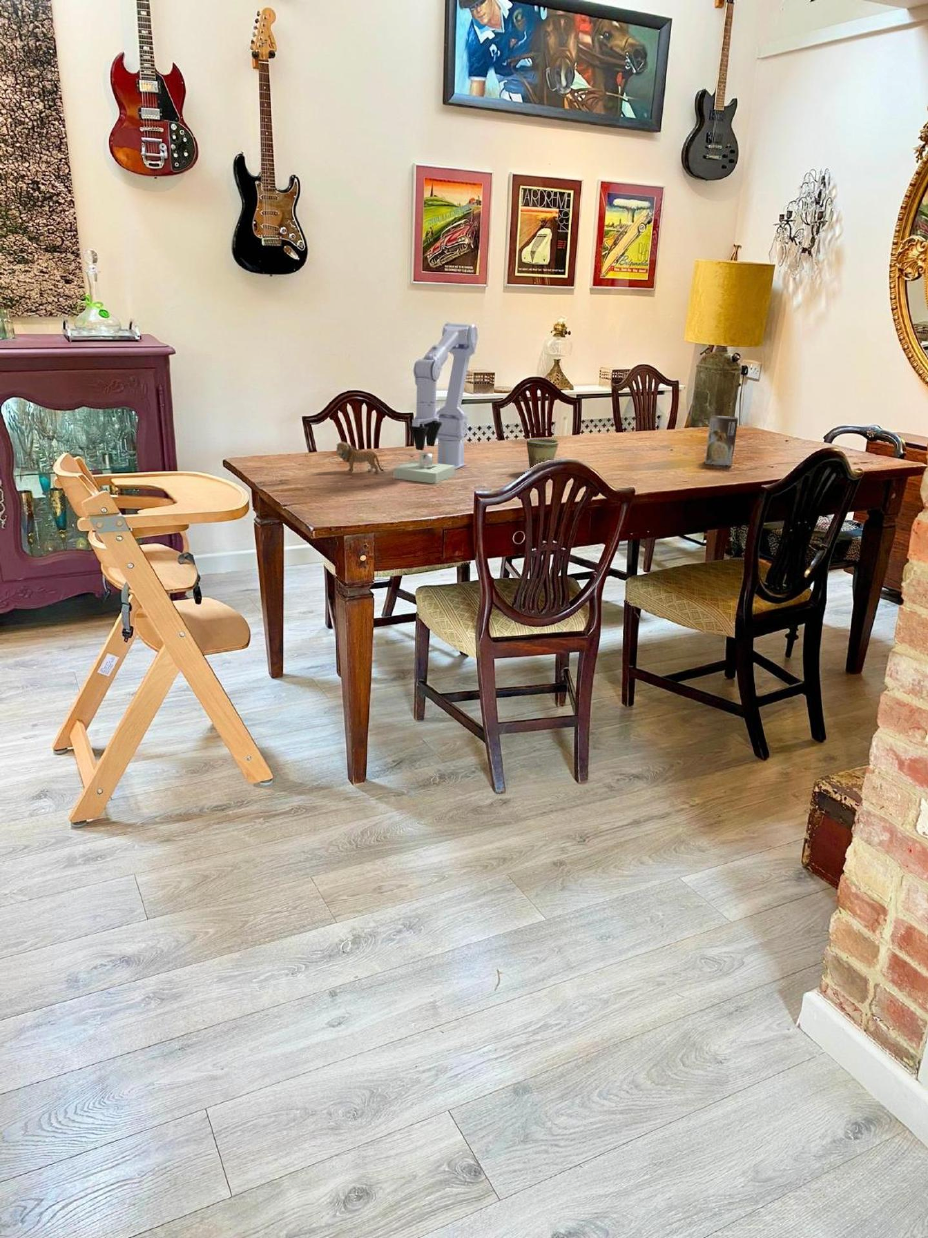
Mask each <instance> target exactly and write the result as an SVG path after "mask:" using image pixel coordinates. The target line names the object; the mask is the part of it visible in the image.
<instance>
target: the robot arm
mask: <svg viewBox="0 0 928 1238" xmlns="http://www.w3.org/2000/svg"><path fill="white" fill-rule="evenodd" d="M441 335H442V336H441V339H440V340H439V342H438V344H433V345H432V346H431V348H430V349H429V350H428V352H426V354H425V355H424V357H423V358H419V359H418V360H416V361H415V363H414V366H413V371H412V372H413V376H414V384H415V386H416V407H415V408H416V411H415V412H416V415H415V416H414V418H413V419H412V420H411V421H412V423H411V424H409V426H408V428H409V431H410V432H411V434H412V437H413V441H414V447H415V450H416V451H424V450H425V444H426V446H427V447H428V446H429V447H435V446H436V445H435V444H436V441H437V459H436V463H439V464H447V465H455V470H458V469H459V468H462V467H464V466H466V465H467V463H466V462H464V459H465V458H464V457H465V454H464V453H465V443H464V442H463V439H464V438H465V436H466V435H467V430H468V417H467V414H466V413H465V412H464V411H463V410H462V409H461V407H462V401H463V396H464V390H465V385H466V380H467V373H468V369H469V364H470V359H471V358H470V357H471V356H473V355H475V352H476V348H477V345H478V343H477V342H478V339H479V338H478V336H479V335H478V328H477V326H476V324H474V323H471V324H470V323H469V324H468V323H467V324H466V323H455V322H454V323H453V322H446V323H445V324H444V325H443V327H442V331H441ZM448 353H450V354H451V355H453V361H452V367H451V371H450V376H449V382H448V386H447V393H446V399H445V404H444V406H443V407H441V408H440V409H438V410H437V381H438V380H439V378H440V376H441V372H442V369H443V368H442V367H443V365H445V363H446V361H448V358H449V354H448ZM436 410H437V411H436Z"/></svg>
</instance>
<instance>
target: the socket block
mask: <svg viewBox="0 0 928 1238" xmlns="http://www.w3.org/2000/svg"><path fill="white" fill-rule="evenodd" d="M455 473H456V469H455V465H447V464H439V463H437V462H432V469H421V468H419V460H412V461H408V462H405V463H404V464H401V465H399V466H398V465H397V466H395V467H393V474H392V475H393V479H399V480H406V481H412V482H413V481H414V482H423V483H429V484H438V483H441V482H443V481H445V480H447V479H450V478H452V477H454V476H456V474H455Z"/></svg>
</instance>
